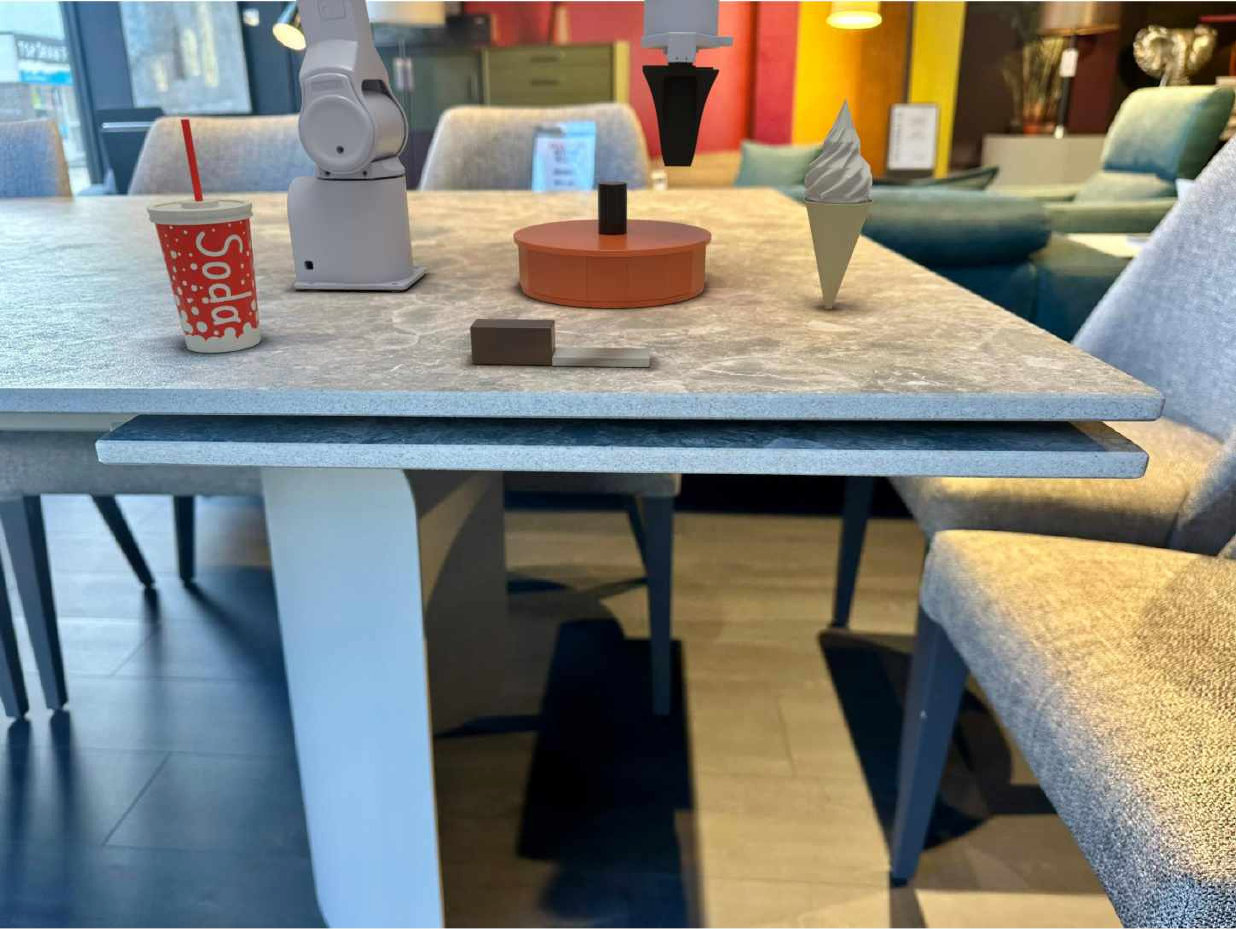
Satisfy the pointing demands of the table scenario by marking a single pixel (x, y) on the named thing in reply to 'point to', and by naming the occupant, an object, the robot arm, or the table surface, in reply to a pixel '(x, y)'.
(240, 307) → the beverage cup
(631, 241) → the pan lid
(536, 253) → the pan
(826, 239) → the ice cream cone
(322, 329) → the table surface
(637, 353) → the knife
